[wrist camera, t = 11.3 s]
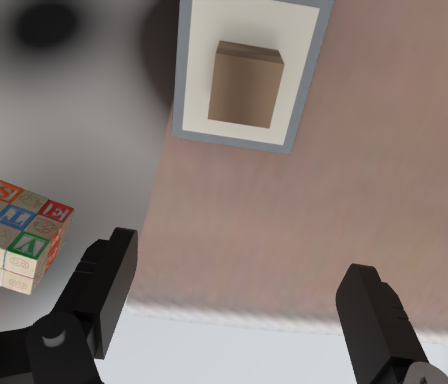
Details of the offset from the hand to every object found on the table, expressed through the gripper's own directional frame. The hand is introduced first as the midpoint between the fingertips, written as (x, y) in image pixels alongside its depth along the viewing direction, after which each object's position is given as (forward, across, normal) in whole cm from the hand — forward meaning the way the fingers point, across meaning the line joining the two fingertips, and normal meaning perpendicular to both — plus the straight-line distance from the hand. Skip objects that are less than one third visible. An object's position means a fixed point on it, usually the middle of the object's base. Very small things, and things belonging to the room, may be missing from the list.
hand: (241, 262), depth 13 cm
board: (+23, 0, -1) cm, 23 cm away
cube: (+21, 0, -1) cm, 21 cm away
